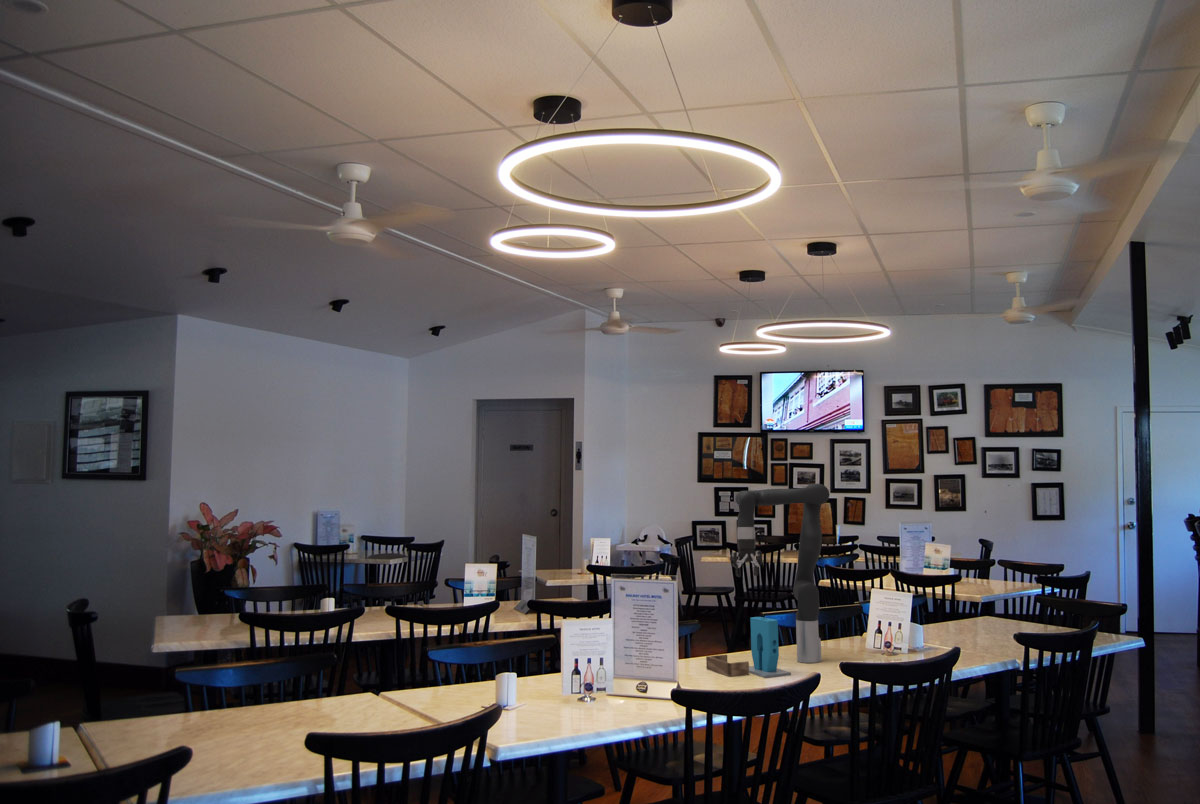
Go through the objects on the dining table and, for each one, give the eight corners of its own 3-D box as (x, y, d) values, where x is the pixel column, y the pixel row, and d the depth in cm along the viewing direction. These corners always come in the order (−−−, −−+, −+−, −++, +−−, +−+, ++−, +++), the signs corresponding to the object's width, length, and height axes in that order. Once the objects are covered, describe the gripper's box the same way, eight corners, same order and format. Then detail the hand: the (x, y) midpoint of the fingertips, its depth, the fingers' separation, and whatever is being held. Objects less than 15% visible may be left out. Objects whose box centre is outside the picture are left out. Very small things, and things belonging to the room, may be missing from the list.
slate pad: (765, 667, 372) (765, 664, 372) (791, 675, 356) (790, 672, 356) (740, 669, 367) (740, 667, 368) (765, 678, 351) (765, 675, 351)
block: (780, 671, 358) (778, 620, 360) (770, 673, 355) (769, 621, 357) (760, 666, 368) (758, 616, 370) (750, 668, 366) (749, 617, 368)
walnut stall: (725, 666, 374) (725, 654, 374) (749, 674, 358) (748, 661, 358) (706, 668, 370) (706, 656, 370) (729, 676, 354) (728, 663, 355)
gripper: (755, 536, 392) (756, 574, 391) (727, 537, 386) (728, 576, 385) (765, 537, 385) (766, 576, 384) (736, 538, 380) (737, 577, 378)
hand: (747, 576), depth 384 cm, fingers open, 8 cm apart
